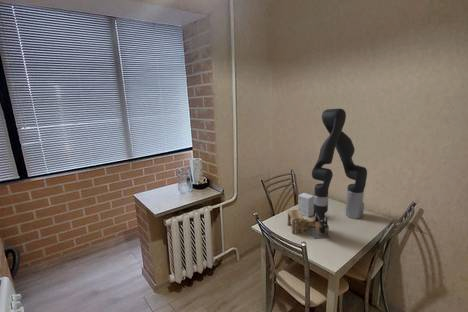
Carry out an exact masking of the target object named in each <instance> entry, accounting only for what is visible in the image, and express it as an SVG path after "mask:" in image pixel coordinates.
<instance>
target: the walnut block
mask: <svg viewBox="0 0 468 312" xmlns="http://www.w3.org/2000/svg"><path fill="white" fill-rule="evenodd" d="M314 229H315V231H316V232H317V234H318V235H328V234H329V229H330V226H329V224H328V223H327V228H325V233H321V225H320V223H319V221H318V222H315V228H314Z"/></svg>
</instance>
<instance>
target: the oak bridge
mask: <svg viewBox="0 0 468 312" xmlns="http://www.w3.org/2000/svg"><path fill="white" fill-rule="evenodd" d="M304 220H305V217H304V215H302V214H301V213H300V211H299V210H298V209H289V210H287V225H288V226H291V233H292V234H293V235H294V234H295V235H296V232H295V222H298V221H301V226H300V232H299V233H300V234H304V233H305V230H304Z"/></svg>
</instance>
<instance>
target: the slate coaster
mask: <svg viewBox="0 0 468 312" xmlns="http://www.w3.org/2000/svg"><path fill="white" fill-rule="evenodd" d="M308 231H309V232H310V234H311V235H312V237H313V239H327V238H331V235H330V234H329V233H328V235H318V234H317V232H316V231H315V228H309V229H308Z"/></svg>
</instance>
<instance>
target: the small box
mask: <svg viewBox="0 0 468 312" xmlns="http://www.w3.org/2000/svg"><path fill="white" fill-rule="evenodd" d="M297 200H298V205H297V210H299V211H300V213H301V214H302V216H303V217H307V218H311V216H313V215H314V209H313V208H314V195H313V194H309V193H306V192H303V193H300V194H298V199H297Z"/></svg>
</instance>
